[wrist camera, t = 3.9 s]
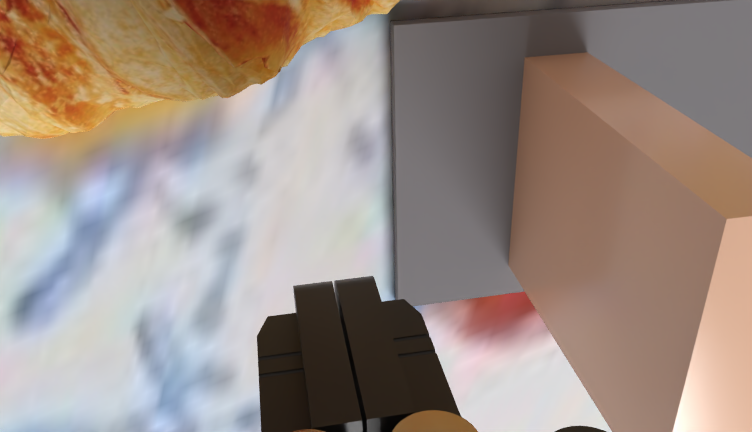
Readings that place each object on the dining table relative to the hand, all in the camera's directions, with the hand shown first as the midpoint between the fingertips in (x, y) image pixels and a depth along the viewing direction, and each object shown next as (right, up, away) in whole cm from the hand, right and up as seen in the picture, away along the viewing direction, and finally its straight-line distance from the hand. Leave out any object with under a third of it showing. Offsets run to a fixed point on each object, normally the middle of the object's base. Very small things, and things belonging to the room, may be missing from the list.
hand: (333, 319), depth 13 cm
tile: (+5, +3, +5) cm, 8 cm away
